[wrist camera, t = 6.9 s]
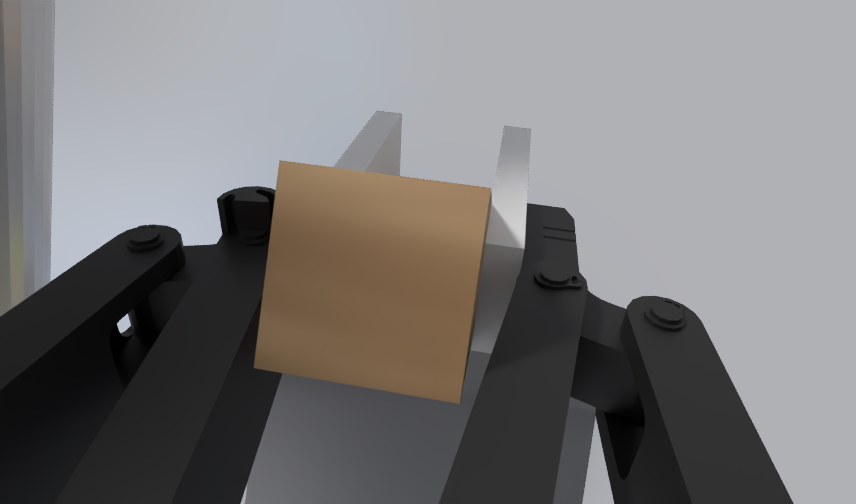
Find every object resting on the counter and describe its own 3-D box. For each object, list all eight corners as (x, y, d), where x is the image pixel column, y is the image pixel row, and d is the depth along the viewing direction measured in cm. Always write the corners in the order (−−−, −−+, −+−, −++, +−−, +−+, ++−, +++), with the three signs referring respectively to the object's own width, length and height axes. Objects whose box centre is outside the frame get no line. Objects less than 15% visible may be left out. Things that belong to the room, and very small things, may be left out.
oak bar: (459, 404, 8) (490, 188, 8) (253, 367, 8) (279, 160, 8) (486, 269, 36) (493, 222, 35) (439, 262, 36) (446, 215, 36)
